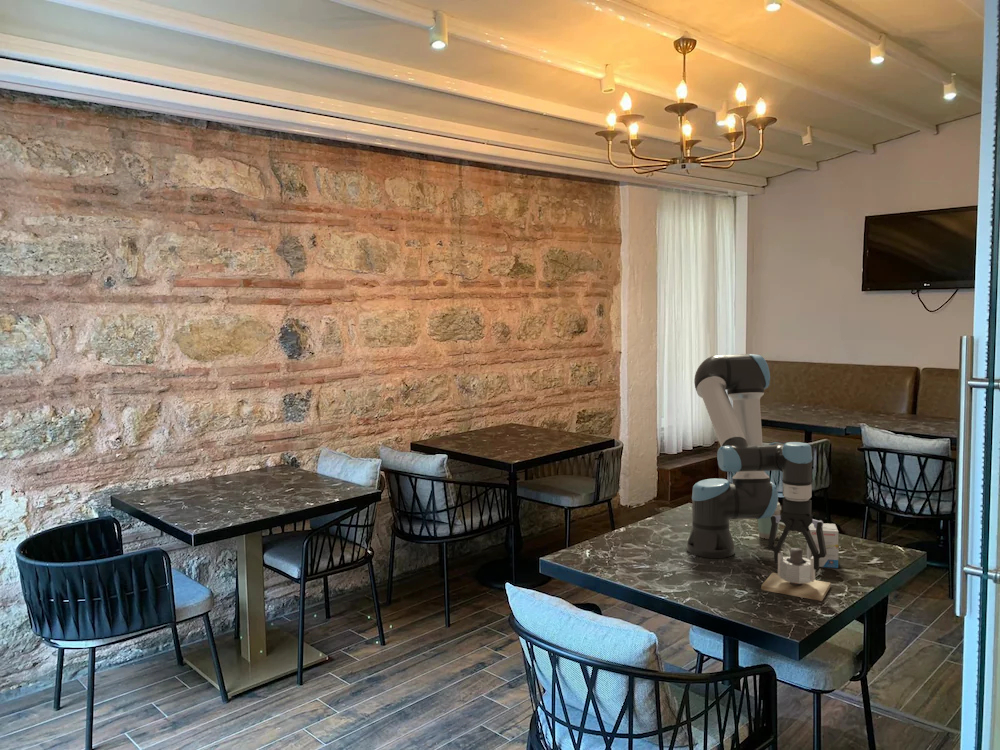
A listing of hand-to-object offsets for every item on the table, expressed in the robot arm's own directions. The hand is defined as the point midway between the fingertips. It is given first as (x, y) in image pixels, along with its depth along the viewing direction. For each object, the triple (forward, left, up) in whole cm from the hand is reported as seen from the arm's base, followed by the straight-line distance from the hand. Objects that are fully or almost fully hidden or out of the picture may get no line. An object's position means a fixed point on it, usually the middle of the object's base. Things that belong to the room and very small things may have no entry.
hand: (796, 577), depth 208 cm
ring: (0, 0, 0) cm, 0 cm away
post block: (0, 0, -3) cm, 3 cm away
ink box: (+2, +26, -4) cm, 26 cm away
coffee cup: (-19, +45, -3) cm, 49 cm away
